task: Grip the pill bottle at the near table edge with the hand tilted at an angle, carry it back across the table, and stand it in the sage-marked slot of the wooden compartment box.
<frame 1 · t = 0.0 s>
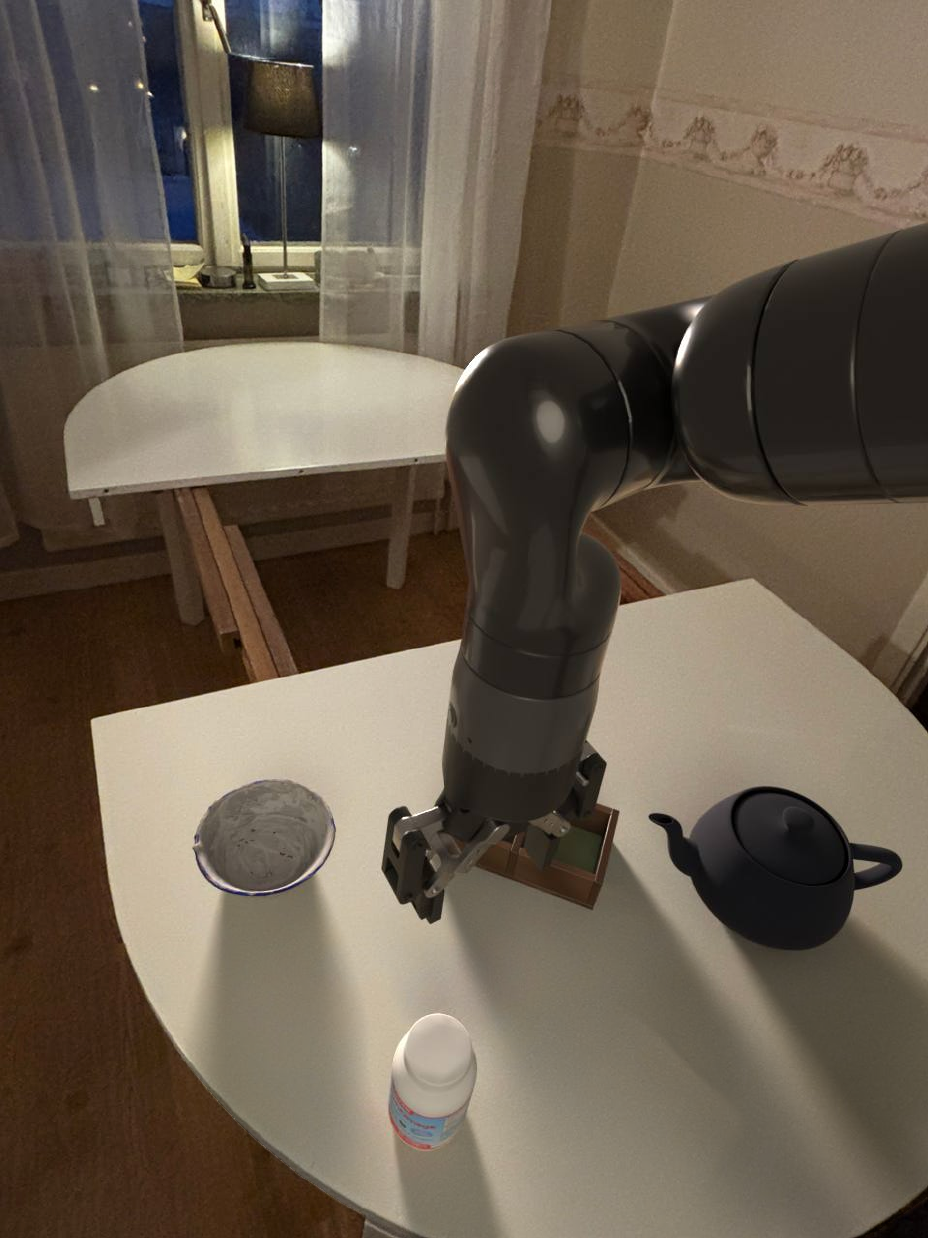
hand: (484, 883, 49), 21 cm above the table, tool pointing down, fingers open, 8 cm apart
teapot: (745, 890, 75), on the table
pill bottle: (427, 1108, 57), on the table
bowl: (268, 862, 73), on the table
wooden compartment box: (520, 842, 77), on the table
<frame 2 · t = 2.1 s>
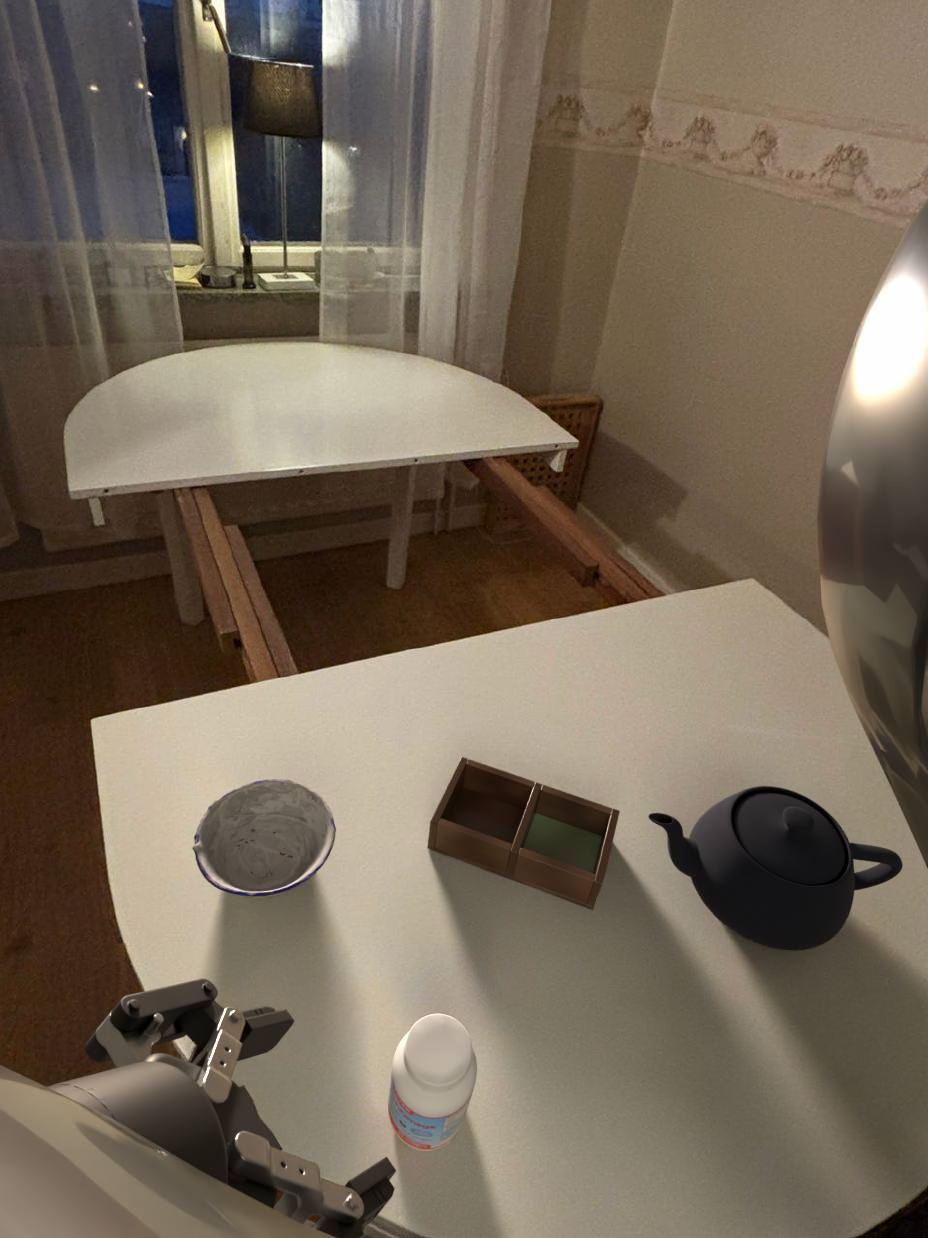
hand: (327, 1099, 37), 23 cm above the table, tool tilted 40°, fingers open, 8 cm apart
nothing on the table moved.
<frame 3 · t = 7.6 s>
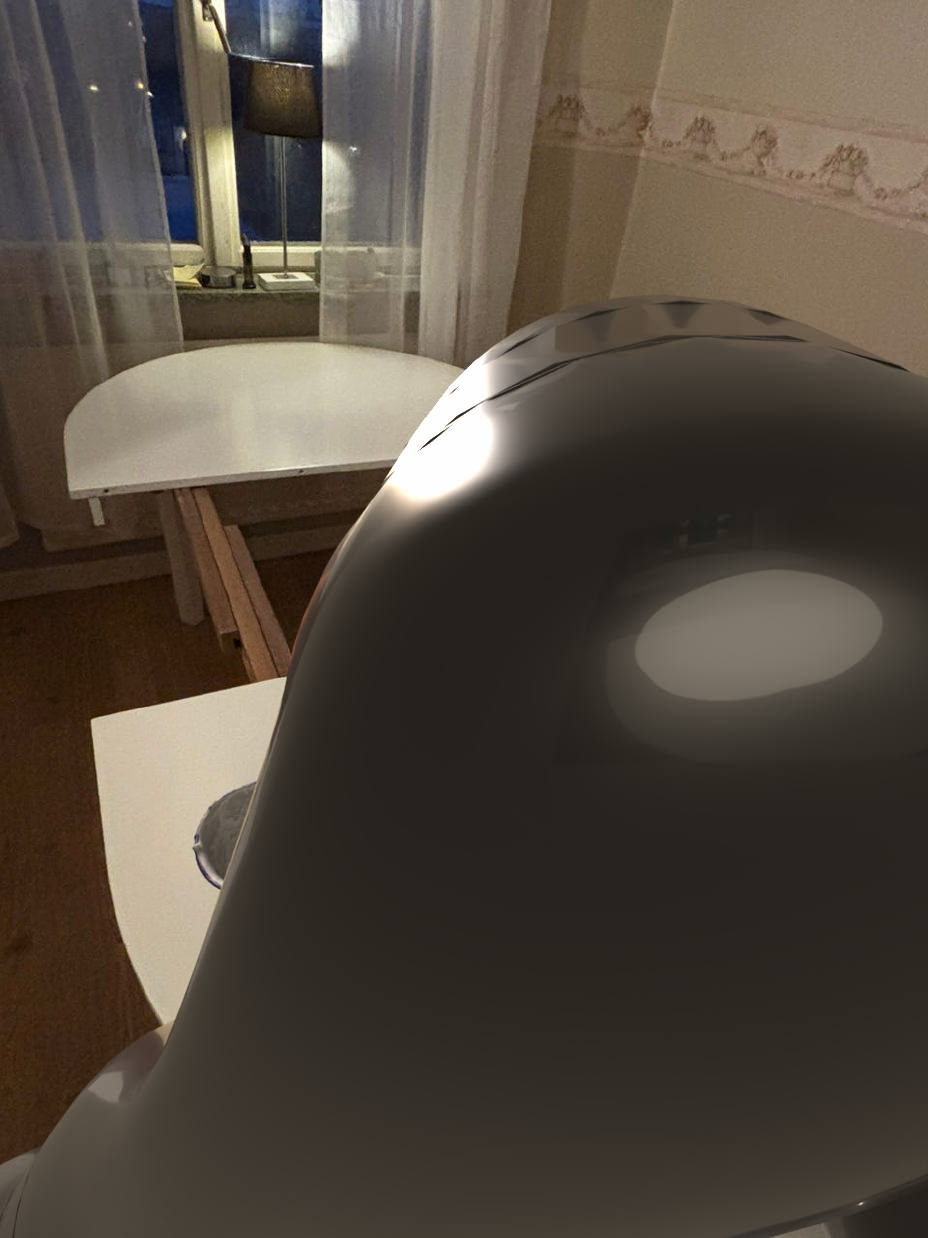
hand: (449, 1051, 54), 7 cm above the table, tool tilted 45°, fingers closed on pill bottle, 6 cm apart
pill bottle: (427, 1108, 57), on the table, touching gripper
everything else where it was.
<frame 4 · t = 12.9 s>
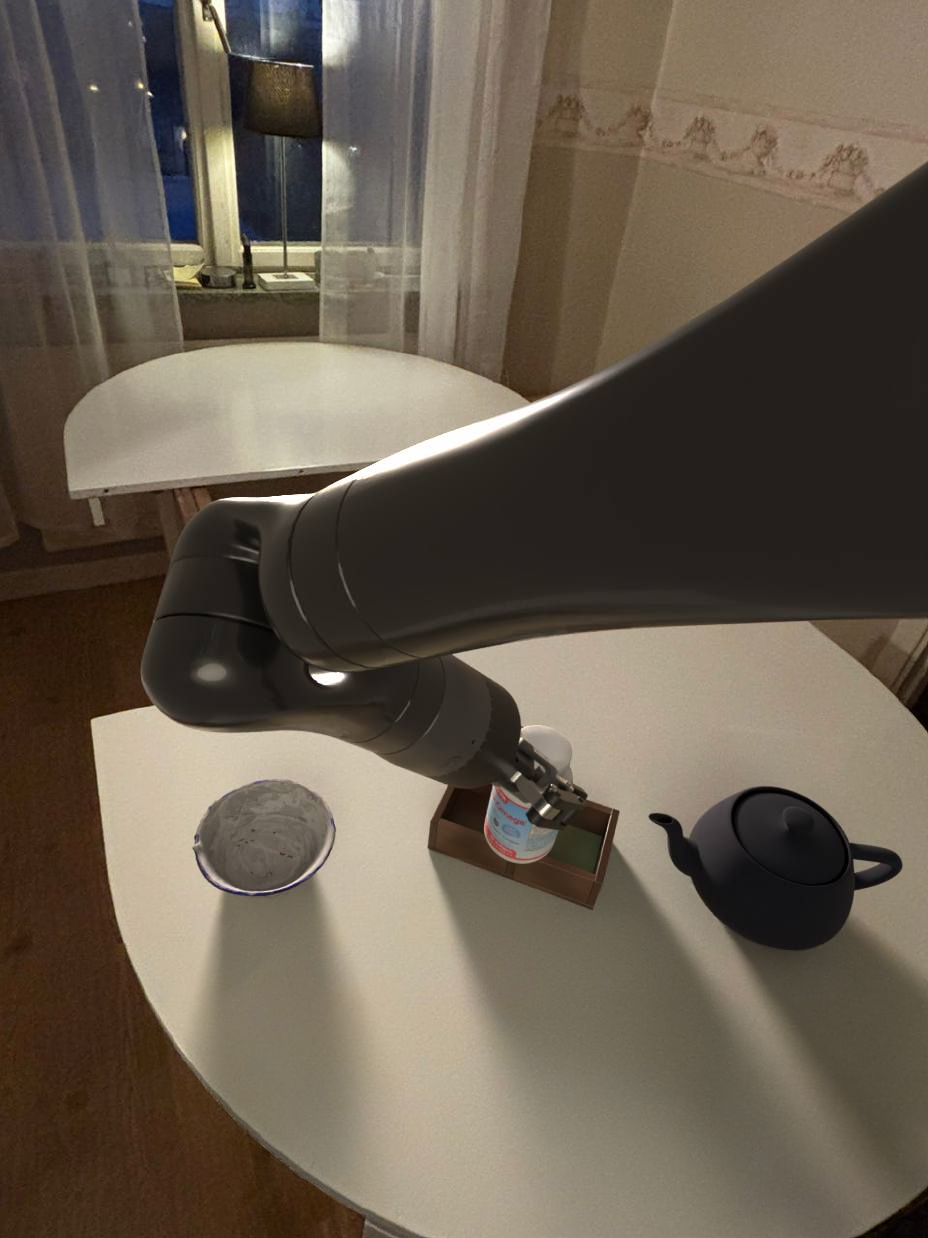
hand: (550, 772, 59), 20 cm above the table, tool tilted 45°, fingers closed on pill bottle, 6 cm apart
pill bottle: (518, 837, 63), point 12 cm above the table, touching gripper
everything else where it was.
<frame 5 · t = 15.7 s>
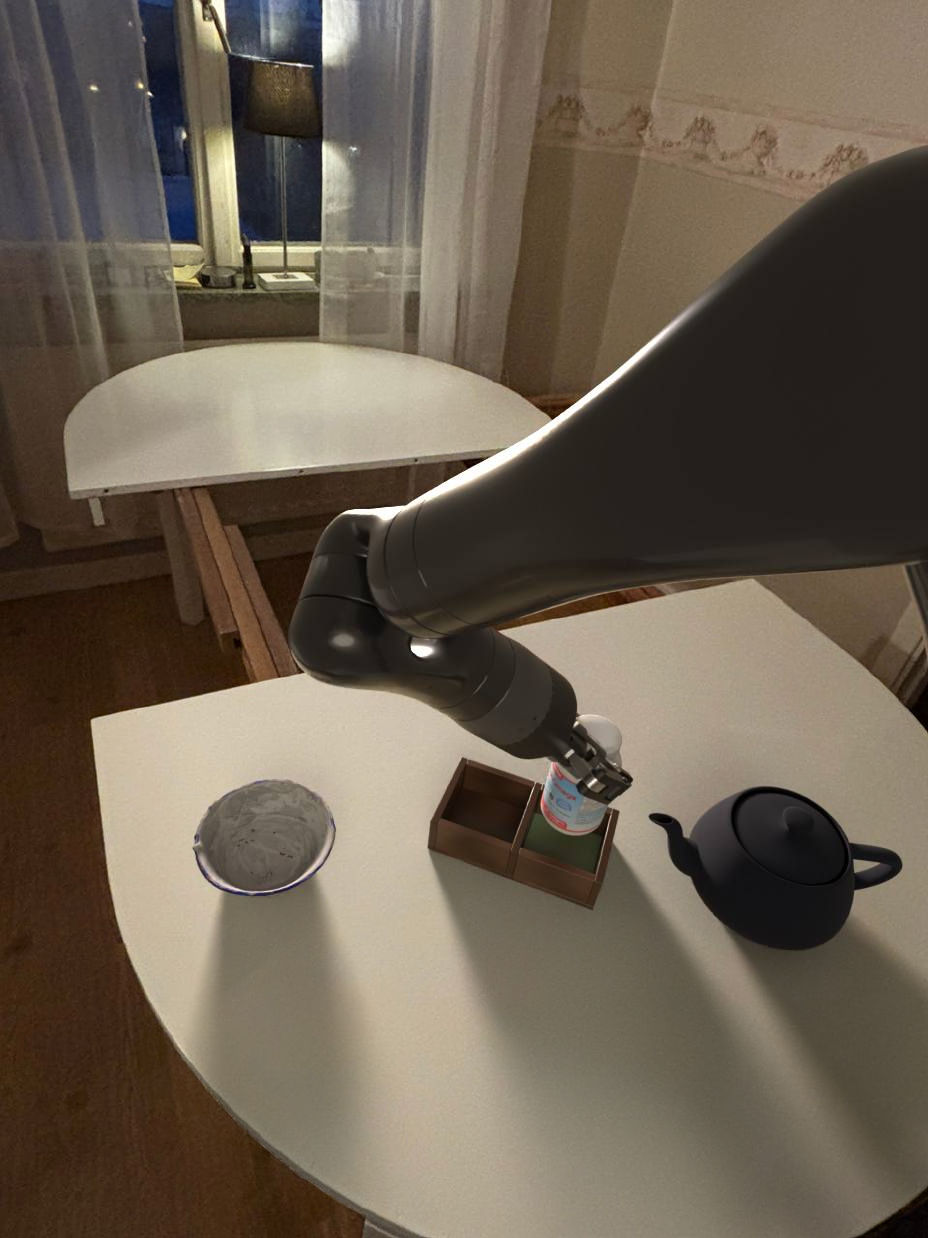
hand: (602, 757, 67), 15 cm above the table, tool tilted 45°, fingers closed on pill bottle, 6 cm apart
pill bottle: (570, 813, 71), point 7 cm above the table, touching gripper
everything else where it was.
when the fingers open (8 cm above the table, at t = 18.2 s): pill bottle stays where it is, resting on wooden compartment box.
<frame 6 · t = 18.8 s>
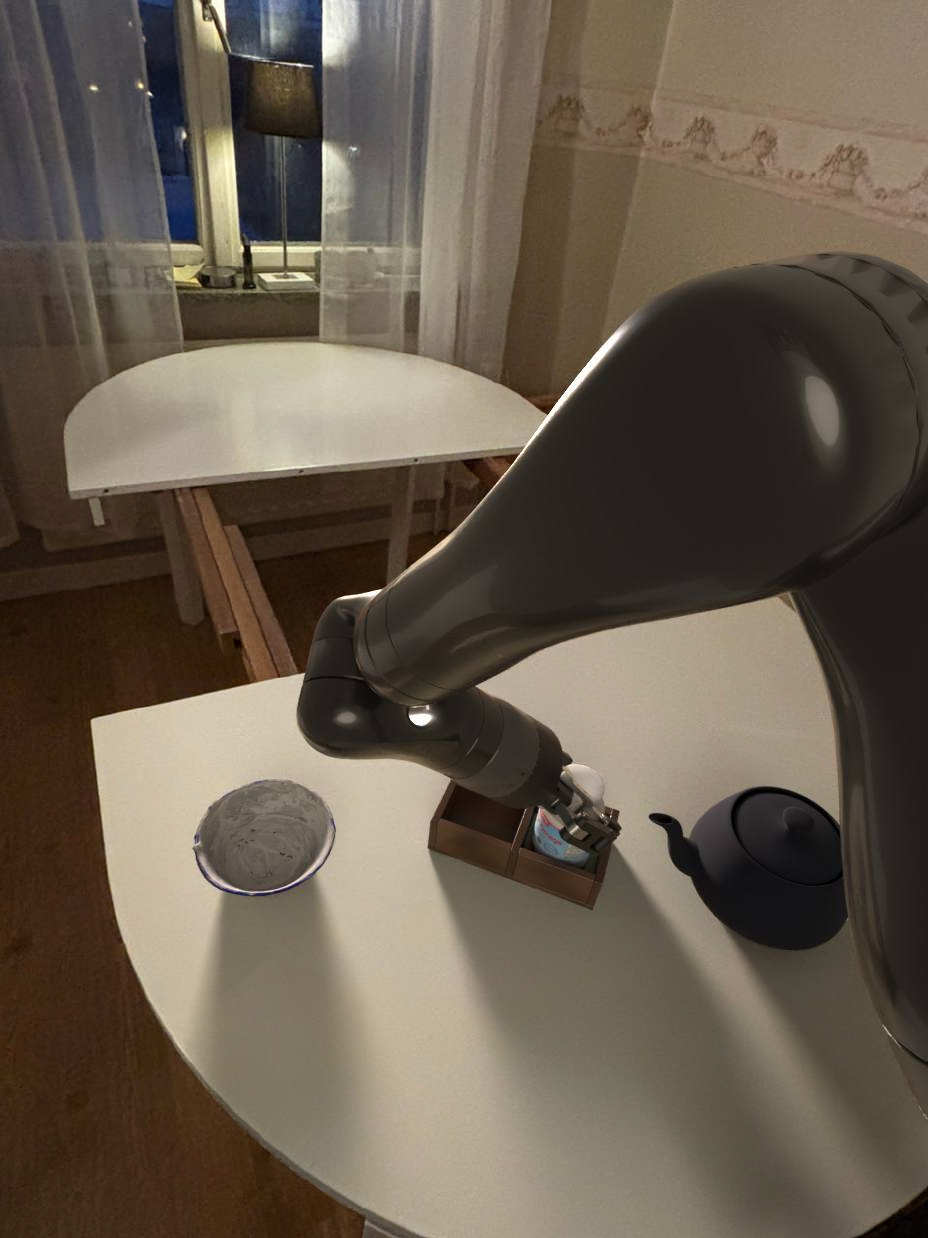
hand: (587, 797, 71), 9 cm above the table, tool tilted 45°, fingers open, 8 cm apart
pill bottle: (558, 854, 76), point 1 cm above the table, touching wooden compartment box
everything else where it was.
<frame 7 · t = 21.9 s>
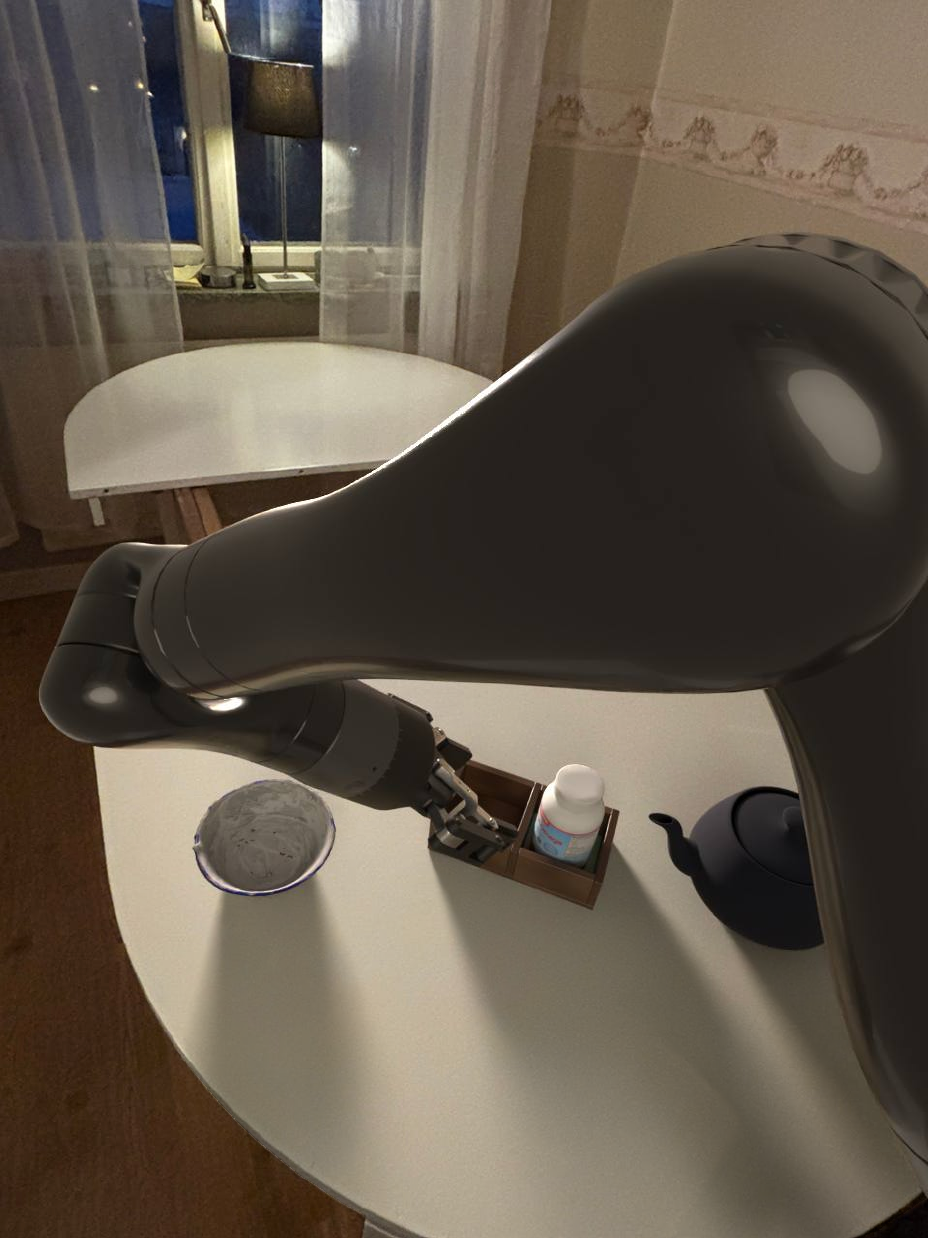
hand: (485, 797, 61), 16 cm above the table, tool tilted 45°, fingers open, 8 cm apart
nothing on the table moved.
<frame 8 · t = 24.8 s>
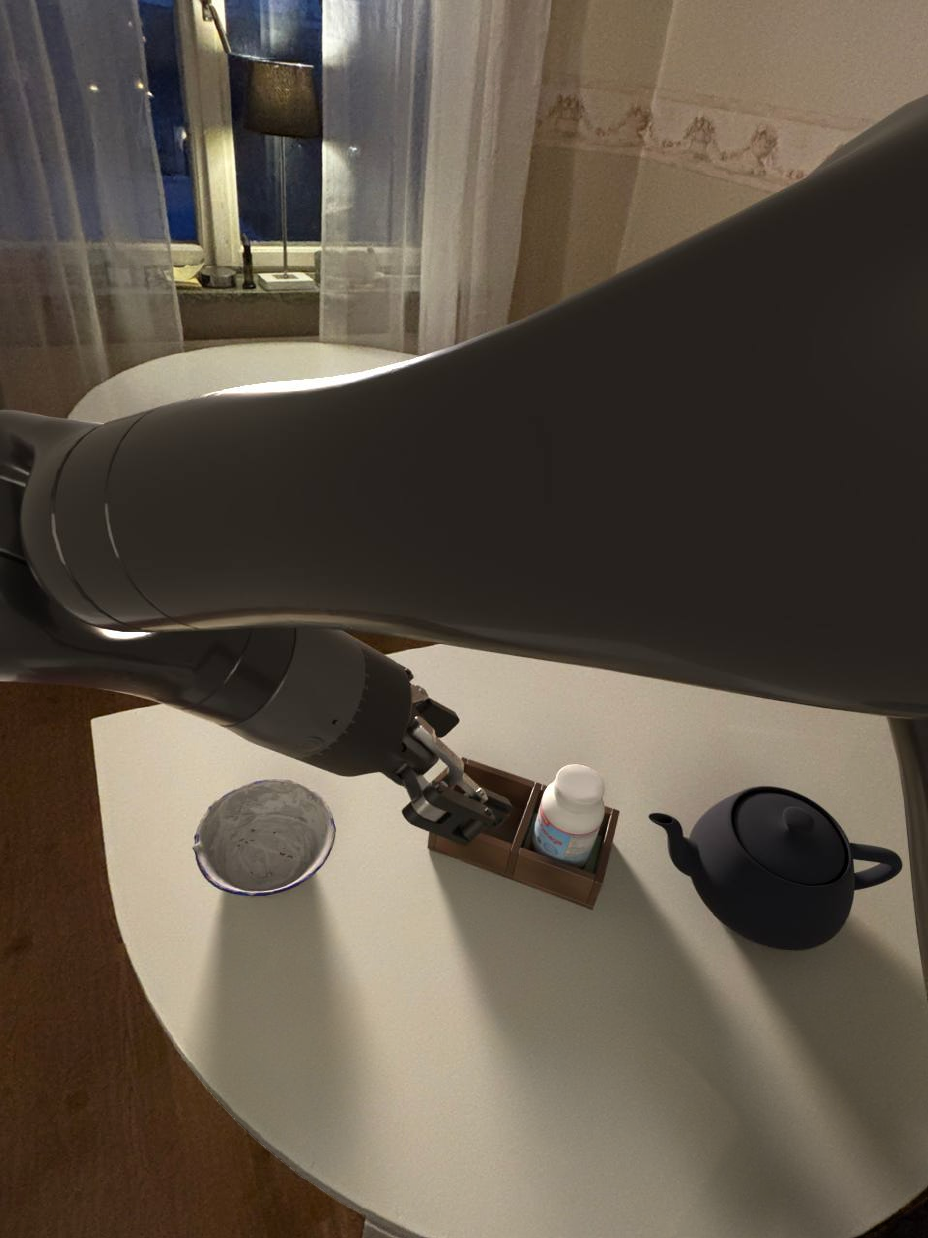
hand: (474, 768, 52), 25 cm above the table, tool tilted 45°, fingers open, 8 cm apart
nothing on the table moved.
at the end: pill bottle inside the target area in the wooden compartment box (0.2 cm from its centre), point 0.6 cm above the wooden compartment box's base; pill bottle tilted 0°; the gripper is holding nothing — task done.
